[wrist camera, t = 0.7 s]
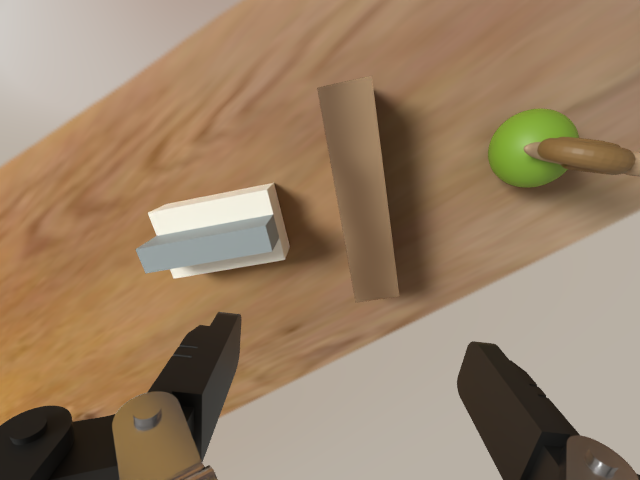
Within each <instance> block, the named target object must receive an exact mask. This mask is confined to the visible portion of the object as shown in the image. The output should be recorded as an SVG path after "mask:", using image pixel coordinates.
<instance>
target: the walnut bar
mask: <svg viewBox="0 0 640 480" xmlns="http://www.w3.org/2000/svg"><path fill="white" fill-rule="evenodd" d="M317 90H318V95H319V101H320V106H321V112H322V118H323V123H324V129H325V134H326V140H327V146H328V151H329V157H330V162H331V168H332V173H333V179H334V185H335V190H336V196H337V201H338V207H339V213H340V218H341V224H342V229H343V235H344V240H345V246H346V252H347V257H348V263H349V268H350V274H351V280H352V285H353V291H354V296H355V302H363V301H370V300H378V299H385V298H392V297H399V289H398V281H397V273H396V265H395V257H394V249H393V241H392V234H391V226H390V218H389V210H388V202H387V194H386V186H385V178H384V170H383V162H382V154H381V146H380V138H379V130H378V122H377V114H376V106H375V98H374V90H373V82H372V76H368V77H364V78H359V79H355V80H350V81H346V82H341V83H337V84H332V85H328V86H323V87H319V88H317Z"/></svg>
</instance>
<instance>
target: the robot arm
mask: <svg viewBox="0 0 640 480" xmlns="http://www.w3.org/2000/svg"><path fill="white" fill-rule="evenodd" d="M240 335H241V315H240V314H232V313H223V312H218V313H217V315H216V317H215V318H214V320H213V322H212V323H211V325H210V326H204V325H199V326H198V327H196V328H195V329H193V330H192V331H191V332H189V333H188V334H187V335H186V336H185V338H184V339H183V341H182V342H181V344H180V347H178V348H177V350H176V351H175V353H174V355H173V356H172V357H171V358H170V360H169V361H168V363H167V364H166V366H165V367H164V369H163V370H162V372H161V373H160V375H159V376H158V378H157V379H156V381H155V382H154V384H153V385H152V386H151V388H150V389H149V391H148V392H147V393H144V394H141V395H139V396H136V397H135V398H133V399H131V400H129V401H128V402H126V403H125V404H124V405H123V406H122V407H121V408H120V409H119V410H118V411H117V413H116V414H114V415H111V416H106V417H100V418H94V419H88V420H82V421H76V422H72V416H71V414H70V412H69V411H68V410H67V409H65V408H63V407H60V406H43V407H38V408H34V409H31V410H28V411H25V412H23V413H21V414H19V415H17V416H15V417H13V418H11V419H9V420H8V421H6V422H5V423H3V424H2V425H1V426H0V480H218V479H217V477H216V474H215V472H214V470H213V469H212V467H210V466H207V467H204V465H203V463H202V462H203V459H204V456H205V454H206V451H207V448H208V445H209V443H210V440H211V437H212V435H213V431H214V429H215V426H216V423H217V421H218V418H219V415H220V413H221V410H222V407H223V405H224V402H225V399H226V396H227V394H228V391H229V388H230V386H231V383H232V380H233V377H234V375H235V372H236V369H237V365H238V360H239V353H240ZM457 388H458V392H459V395H460V398H461V399H462V401H463V404H464V405H465V407H466V409H467V411H468V413H469V415H470V417H471V419H472V421H473V423H474V424H475V426H476V429H477V430H478V432H479V434H480V436H481V438H482V440H483V442H484V444H485V446H486V448H487V450H488V452H489V453H490V455H491V457H492V459H493V461H494V463H495V465H496V467H497V469H498V471H499V473H500V475H501V476H502V478H503V480H640V475H638V474H636V473H635V471H634V470H633V469H632V467H631V466H630V465H629V464H628V463H627V462H626V461H625V460H624V459H623V458H622V457H621V456H620V455H618V454H617V453H616V452H614V451H613V450H612V449H610V448H609V447H607V446H605V445H604V444H602V443H600V442H598V441H596V440H593V439H591V438H588V437H584V436H580V435H579V433H578V432H577V431H576V430H575V429H574V428H573V426H572V425H571V424H570V423H569V422H568V421H567V419H566V418H565V417H564V416H563V415H562V414H561V412H560V411H559V410H558V409H557V408H556V407H555V405H554V404H553V403H552V402H551V401H550V400H549V398H546V395H545V394H544V392H543V391H542V390H541V389H540V388H539V387H537V384H536V383H535V382H534V381H533V380H532V378H531V377H530V376H529V375H528V374H527V372H525V371H524V370H523V369H521V368H520V367H518V366H517V365H516V364H515V363H513V362H512V361H510V360H509V359H508V358H507V357H506V356H505V354H504V353H503V352H502V351H501V350H500V348H499V347H498V346H497V345H496V344H491V343H482V342H471V343H470V344H469V345H468V347H467V350H466V353H465V356H464V360H463V363H462V366H461V369H460V372H459V375H458V380H457Z"/></svg>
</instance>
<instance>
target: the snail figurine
mask: <svg viewBox="0 0 640 480" xmlns="http://www.w3.org/2000/svg"><path fill="white" fill-rule="evenodd" d="M488 159H489V163H490V166H491V168H492V170H493V172H494V173H495V174H496V175H497V176H498V177H499V178H500V179H501V180H502V181H504V182H506V183H508V184H510V185H513V186H517V187H537V186H541V185H544V184H547V183H550V182H552V181H554V180H555V179H557V178H558V177H560V176H561V175H562V174H564V173H565V172H566V171H567V170H568V169H570V170H577V171H585V172H593V173H601V174H610V175H619V174H626V175H632V176H640V152H631V151H630V150H628V149H624V148H621V147H620V146H619V145H617V144H614V143H609V142H605V141H599V140H591V139H582V138H579V135H578V132H577V129H576V127H575V125H574V124H573V123H572V121H571V120H570V119H569V118H567V117H566V116H565V115H563V114H561V113H559V112H557V111H554V110H549V109H532V110H527V111H524V112H521V113H518V114H516V115H514V116H512V117H511V118H509V119H508V120H507V121H505V122H504V123H503V124H502V125H501V126H500V127H499V128H498V129H497V131H496V132H495V134H494V135H493V137H492V139H491V142H490V145H489V150H488Z"/></svg>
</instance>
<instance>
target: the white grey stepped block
mask: <svg viewBox="0 0 640 480" xmlns="http://www.w3.org/2000/svg"><path fill="white" fill-rule="evenodd" d="M148 214H149V217H150V219H151V222H152V225H153V227H154V230H155V232H156V235H157V236H156V237H154V238H153V239H151V240H150V241H148V242H146V243H145V244H143V245H142V246H140V247H138V248H137V249H136V252H137V254H138V256H139V259H140V261H141V263H142V266H143V268H144V270H145V273H151V272H156V271H162V270H168V269H170V270H171V273H172V275H173V278H180V277H186V276H192V275H198V274H204V273H210V272H216V271H222V270H228V269H234V268H239V267H245V266H251V265H257V264H263V263H269V262H275V261H281V260H285V259H286V256H287V253H288V251H289V248H290V245H289V241H288V237H287V233H286V229H285V225H284V221H283V217H282V213H281V209H280V205H279V201H278V197H277V193H276V189H275V185H274V183H271V184H266V185H260V186H255V187H250V188H245V189H240V190H235V191H230V192H225V193H220V194H215V195H210V196H205V197H200V198H195V199H189V200H184V201H179V202H174V203H169V204H165V205H163V206H161V207H159V208H157V209H155V210H153V211H151V212H149V213H148Z"/></svg>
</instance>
